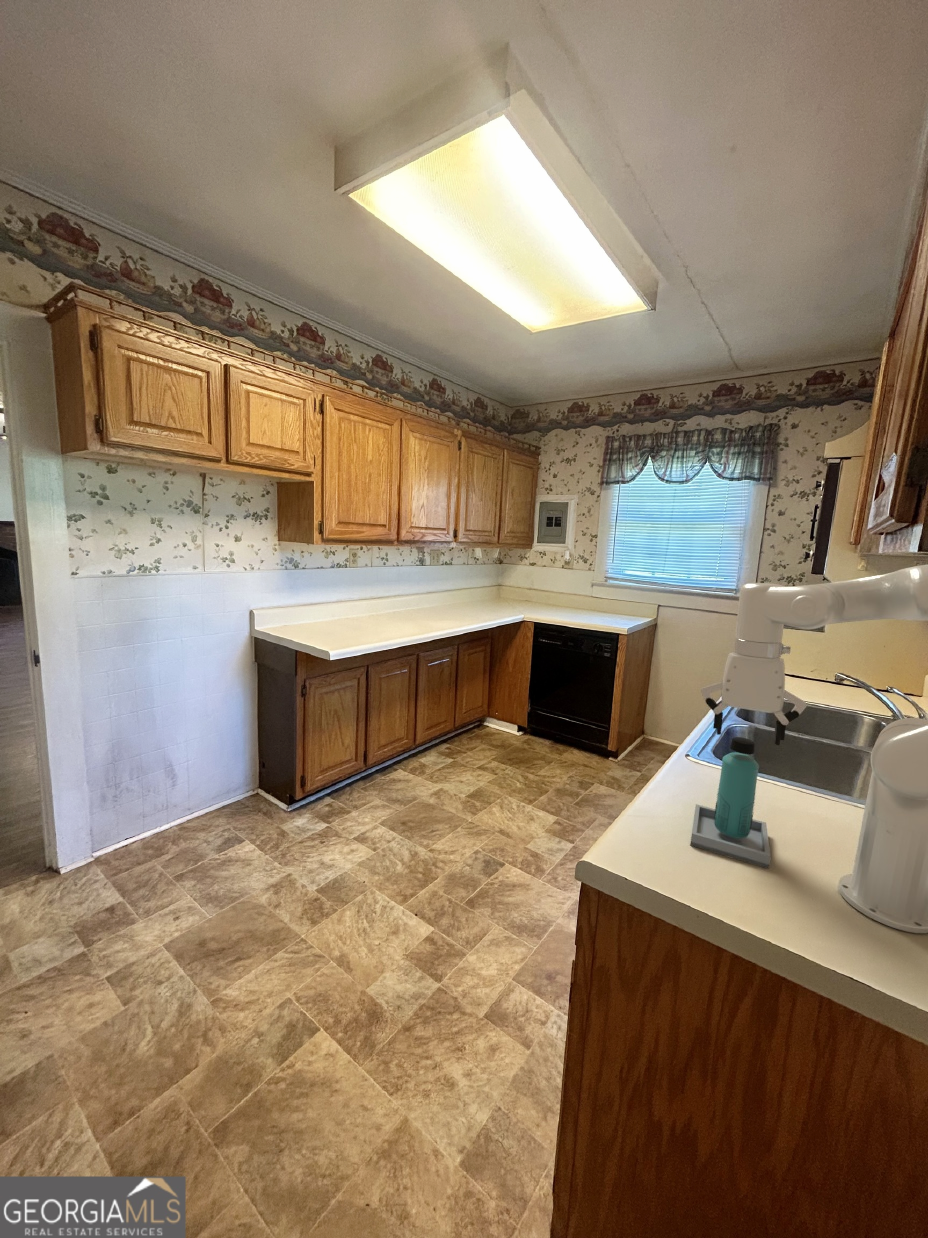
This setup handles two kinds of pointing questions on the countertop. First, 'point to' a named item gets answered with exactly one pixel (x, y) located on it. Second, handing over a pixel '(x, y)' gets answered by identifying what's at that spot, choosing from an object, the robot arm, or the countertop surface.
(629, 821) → the countertop surface
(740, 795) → the beverage bottle
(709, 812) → the tray
